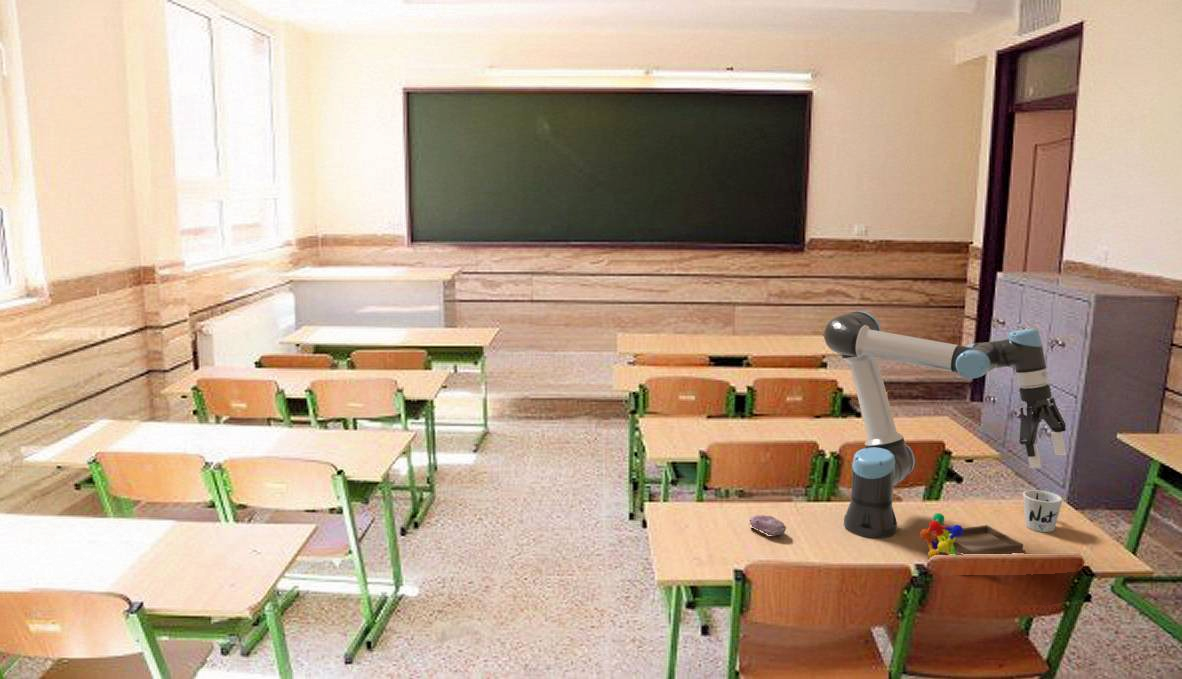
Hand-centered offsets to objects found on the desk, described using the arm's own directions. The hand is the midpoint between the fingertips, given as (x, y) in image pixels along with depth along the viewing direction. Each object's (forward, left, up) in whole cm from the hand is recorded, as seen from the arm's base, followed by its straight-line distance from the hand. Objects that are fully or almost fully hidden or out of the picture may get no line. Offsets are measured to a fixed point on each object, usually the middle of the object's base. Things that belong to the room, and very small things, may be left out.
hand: (1048, 461), depth 227 cm
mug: (-16, +14, -27) cm, 34 cm away
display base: (-8, -14, -26) cm, 31 cm away
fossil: (-34, -67, -27) cm, 79 cm away
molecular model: (-4, -30, -27) cm, 40 cm away
